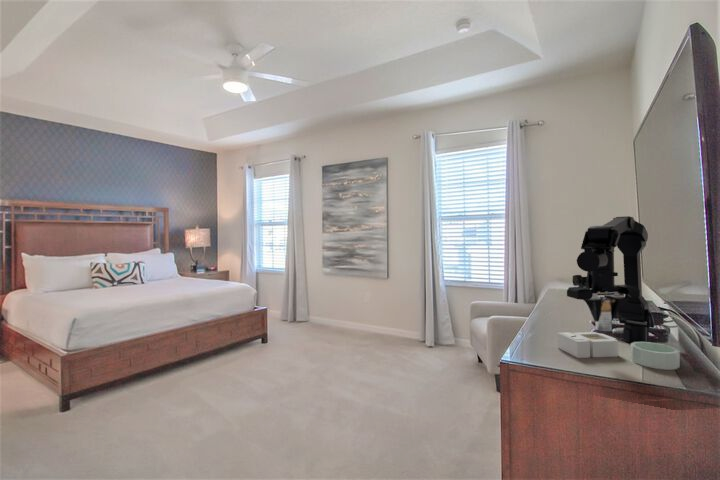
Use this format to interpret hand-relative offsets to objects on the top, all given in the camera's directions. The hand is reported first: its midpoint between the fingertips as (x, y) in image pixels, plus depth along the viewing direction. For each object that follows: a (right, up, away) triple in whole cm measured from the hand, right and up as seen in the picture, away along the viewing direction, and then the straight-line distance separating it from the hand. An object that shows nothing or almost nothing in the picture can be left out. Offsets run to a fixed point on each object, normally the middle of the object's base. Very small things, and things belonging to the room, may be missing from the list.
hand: (603, 320), depth 105 cm
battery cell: (0, -3, 0) cm, 3 cm away
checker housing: (+1, -12, +9) cm, 15 cm away
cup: (+14, -12, -2) cm, 18 cm away
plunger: (+3, -9, +9) cm, 13 cm away
